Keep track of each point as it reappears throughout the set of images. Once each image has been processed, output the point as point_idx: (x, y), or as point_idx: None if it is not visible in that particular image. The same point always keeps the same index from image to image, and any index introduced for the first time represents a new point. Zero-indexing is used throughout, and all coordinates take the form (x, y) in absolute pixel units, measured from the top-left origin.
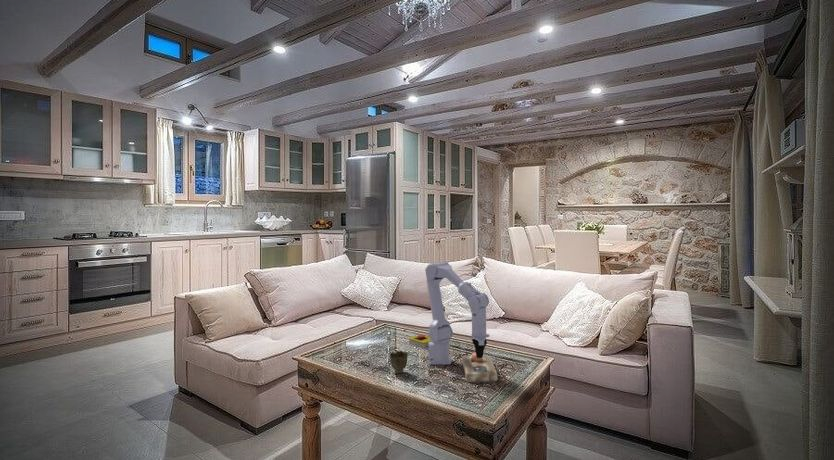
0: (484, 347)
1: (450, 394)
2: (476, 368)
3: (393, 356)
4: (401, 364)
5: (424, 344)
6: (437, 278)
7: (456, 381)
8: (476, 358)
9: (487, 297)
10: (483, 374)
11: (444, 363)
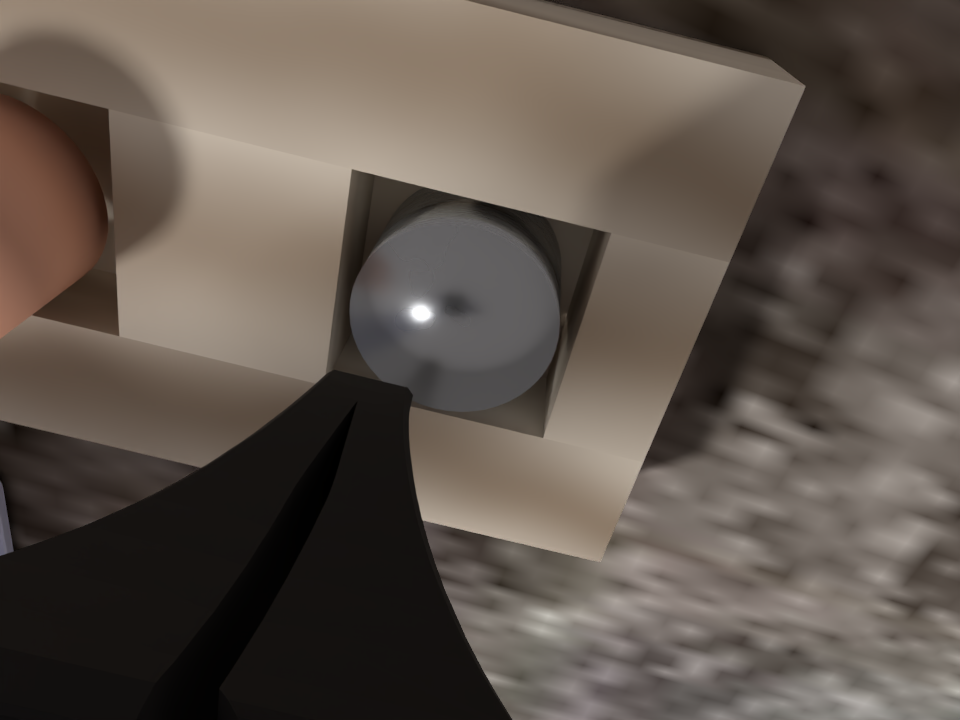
0: (445, 600)
1: (845, 705)
2: (458, 388)
3: None
4: None
5: None
6: None
7: (547, 571)
8: (55, 278)
9: None
10: (691, 341)
11: (4, 544)
